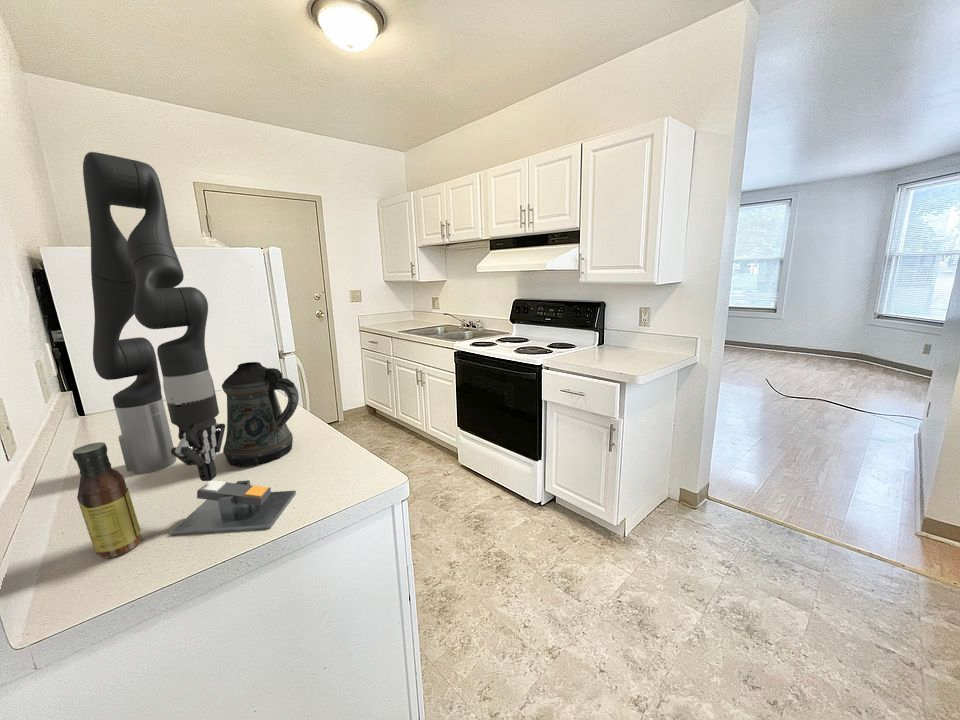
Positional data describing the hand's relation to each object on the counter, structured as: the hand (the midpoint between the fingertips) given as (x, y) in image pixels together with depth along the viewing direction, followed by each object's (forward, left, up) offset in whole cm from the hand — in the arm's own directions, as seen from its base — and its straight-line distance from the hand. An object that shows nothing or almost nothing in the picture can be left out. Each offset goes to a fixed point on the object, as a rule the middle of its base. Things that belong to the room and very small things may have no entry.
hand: (209, 479), depth 78 cm
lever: (+4, 0, -3) cm, 6 cm away
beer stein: (-4, +29, -8) cm, 30 cm away
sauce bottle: (-12, -9, -8) cm, 17 cm away
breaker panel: (+4, 0, -8) cm, 9 cm away
